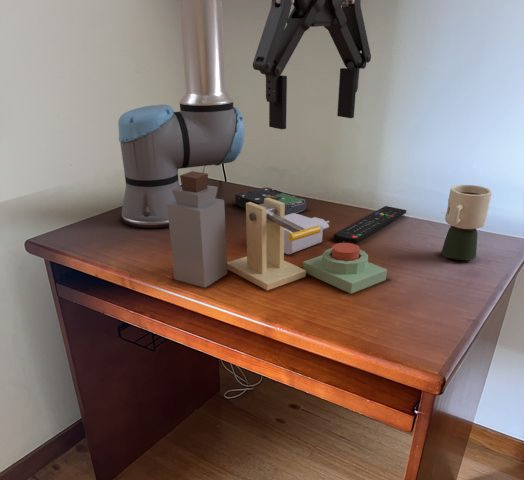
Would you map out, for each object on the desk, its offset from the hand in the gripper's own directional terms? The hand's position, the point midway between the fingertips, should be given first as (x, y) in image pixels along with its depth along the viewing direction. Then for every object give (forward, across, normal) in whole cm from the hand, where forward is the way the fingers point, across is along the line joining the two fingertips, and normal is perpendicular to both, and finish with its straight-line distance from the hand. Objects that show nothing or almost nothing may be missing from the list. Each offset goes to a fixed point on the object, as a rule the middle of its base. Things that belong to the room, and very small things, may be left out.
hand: (313, 122), depth 79 cm
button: (+23, +9, 0) cm, 25 cm away
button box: (+27, +9, 0) cm, 28 cm away
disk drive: (+27, +25, +39) cm, 53 cm away
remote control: (+27, +32, +14) cm, 44 cm away
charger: (+27, +15, +18) cm, 36 cm away
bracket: (+27, -1, +10) cm, 29 cm away
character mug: (+27, +32, -8) cm, 43 cm away
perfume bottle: (+27, -11, +16) cm, 33 cm away
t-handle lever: (+17, -1, +6) cm, 18 cm away
